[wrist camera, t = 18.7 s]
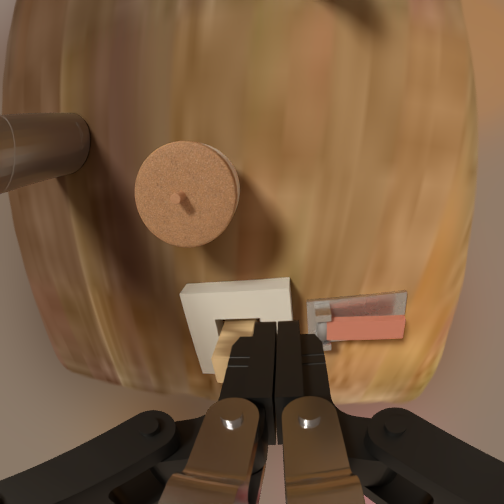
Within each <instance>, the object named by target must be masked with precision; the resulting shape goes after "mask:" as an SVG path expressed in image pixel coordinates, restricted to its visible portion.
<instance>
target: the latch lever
mask: <svg viewBox="0 0 504 504" xmlns="http://www.w3.org/2000/svg"><path fill="white" fill-rule="evenodd" d="M405 321H406V319H405V316H404V315H387V316H352V317H331V321H329V322H317V337H318V338H319V339H320V340H321V341H326V340H373V339H398V338H403V333H404V327H405Z"/></svg>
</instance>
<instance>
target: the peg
mask: <svg viewBox="0 0 504 504" xmlns="http://www.w3.org/2000/svg"><path fill="white" fill-rule="evenodd" d="M255 322H258V319H257V318H248V319H226V320H225V322H224V325H223V328H222V331H221V333H220V336H219V339H218V341H217V344H216V347H215V350H214V352H213V355H212V358H211V360H212V364H213V368H214V372H215V375H216V379H217V383H223V381H224V377H225V373H226V369H227V365H228V361H229V358H230V352H231V348H232V345H233V344H234V343H235V342H236V341H237V340H238V339H239V337H245V336H253V332H254V325H255Z"/></svg>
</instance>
